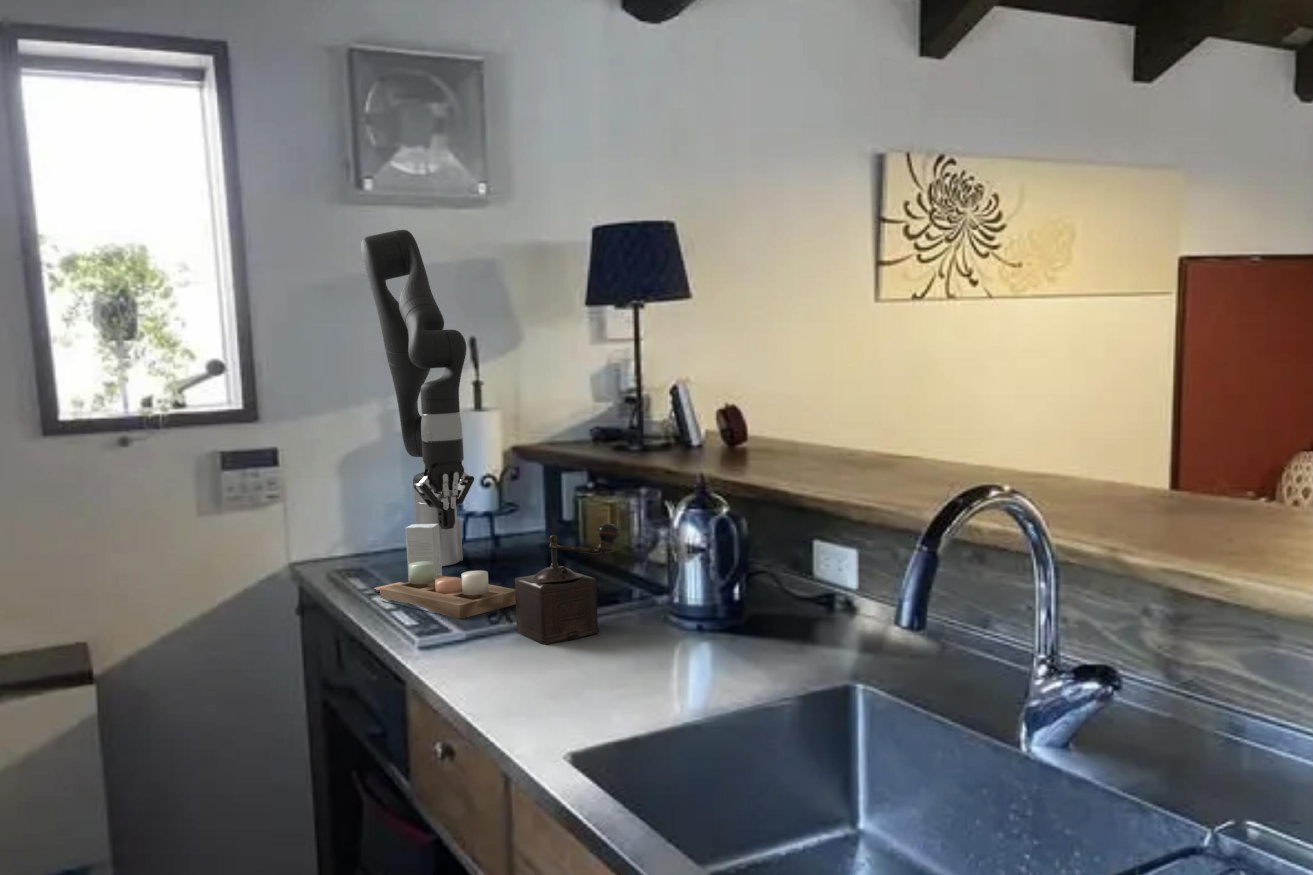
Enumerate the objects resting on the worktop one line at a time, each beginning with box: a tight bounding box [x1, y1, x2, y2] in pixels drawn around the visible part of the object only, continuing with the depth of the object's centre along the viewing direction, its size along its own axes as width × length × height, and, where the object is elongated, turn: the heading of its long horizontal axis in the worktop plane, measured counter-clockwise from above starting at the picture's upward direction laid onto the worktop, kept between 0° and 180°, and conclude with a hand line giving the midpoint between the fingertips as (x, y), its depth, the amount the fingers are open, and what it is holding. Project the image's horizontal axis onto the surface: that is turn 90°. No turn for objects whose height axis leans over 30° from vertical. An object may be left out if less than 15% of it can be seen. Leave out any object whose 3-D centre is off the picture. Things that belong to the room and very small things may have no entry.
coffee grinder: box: [514, 522, 621, 646], centre depth 176 cm, size 16×11×18 cm
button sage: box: [409, 561, 435, 584], centre depth 205 cm, size 5×5×4 cm
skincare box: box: [404, 523, 443, 582], centre depth 217 cm, size 6×4×12 cm
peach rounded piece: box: [435, 576, 462, 594], centre depth 200 cm, size 5×5×4 cm
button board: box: [379, 574, 516, 619], centre depth 200 cm, size 14×24×2 cm, turn 49°
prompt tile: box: [373, 581, 403, 590], centre depth 211 cm, size 6×6×1 cm
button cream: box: [460, 570, 489, 595], centre depth 194 cm, size 5×5×4 cm
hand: (447, 528), depth 199 cm, fingers closed
